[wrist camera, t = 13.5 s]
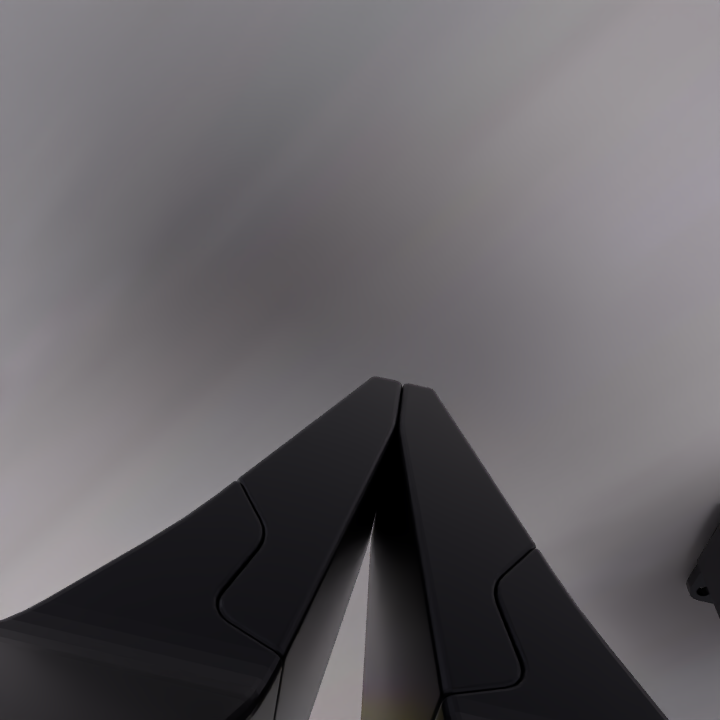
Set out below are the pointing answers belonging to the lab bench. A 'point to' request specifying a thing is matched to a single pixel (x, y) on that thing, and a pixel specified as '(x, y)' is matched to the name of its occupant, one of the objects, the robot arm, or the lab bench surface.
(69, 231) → the lab bench surface
